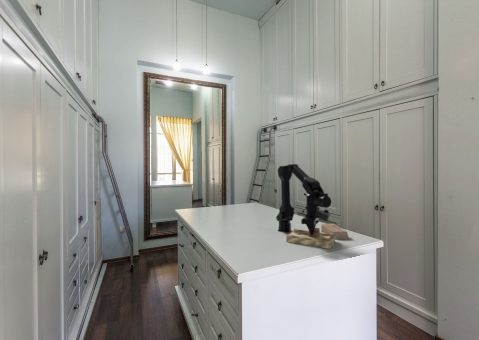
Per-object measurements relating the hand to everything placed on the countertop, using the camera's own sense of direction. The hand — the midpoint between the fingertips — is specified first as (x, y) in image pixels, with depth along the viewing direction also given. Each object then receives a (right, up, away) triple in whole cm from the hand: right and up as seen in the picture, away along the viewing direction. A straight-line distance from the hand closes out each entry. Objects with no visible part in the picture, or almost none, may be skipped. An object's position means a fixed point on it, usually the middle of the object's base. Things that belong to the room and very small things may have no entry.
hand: (312, 234), depth 120 cm
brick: (+17, -4, +14) cm, 23 cm away
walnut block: (+2, -2, +3) cm, 4 cm away
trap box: (0, -4, +2) cm, 5 cm away
